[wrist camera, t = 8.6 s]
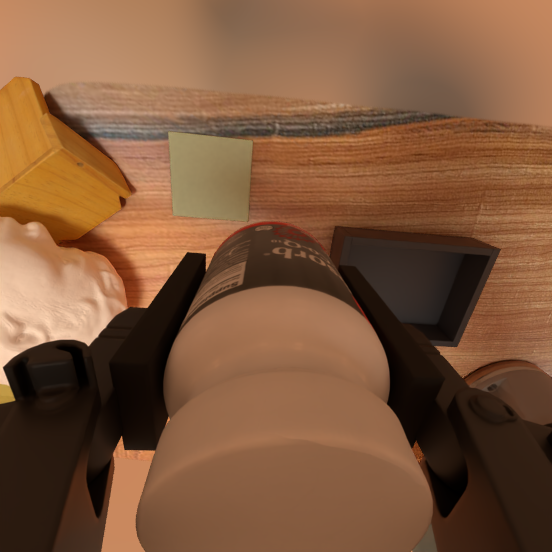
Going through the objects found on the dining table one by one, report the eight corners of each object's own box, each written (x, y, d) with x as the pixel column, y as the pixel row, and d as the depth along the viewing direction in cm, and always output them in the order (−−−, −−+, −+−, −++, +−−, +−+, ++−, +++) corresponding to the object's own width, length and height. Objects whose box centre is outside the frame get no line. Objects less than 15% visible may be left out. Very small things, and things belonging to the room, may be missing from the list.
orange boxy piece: (137, 198, 28) (125, 142, 32) (28, 122, 19) (30, 60, 23) (63, 250, 30) (60, 191, 34) (-66, 202, 21) (-49, 132, 25)
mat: (252, 140, 27) (252, 140, 27) (248, 221, 30) (248, 222, 30) (169, 131, 27) (168, 131, 26) (174, 214, 30) (172, 215, 29)
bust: (-192, 314, 21) (-70, 160, 22) (65, 353, 35) (129, 257, 37) (-267, 417, 14) (-81, 181, 15) (94, 414, 28) (172, 292, 29)
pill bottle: (353, 270, 13) (540, 518, 4) (275, 343, 15) (296, 633, 6) (264, 189, 12) (274, 327, 3) (186, 281, 13) (27, 563, 4)
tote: (473, 238, 32) (501, 249, 29) (437, 327, 37) (457, 347, 34) (335, 226, 31) (344, 236, 27) (317, 320, 36) (323, 340, 32)
